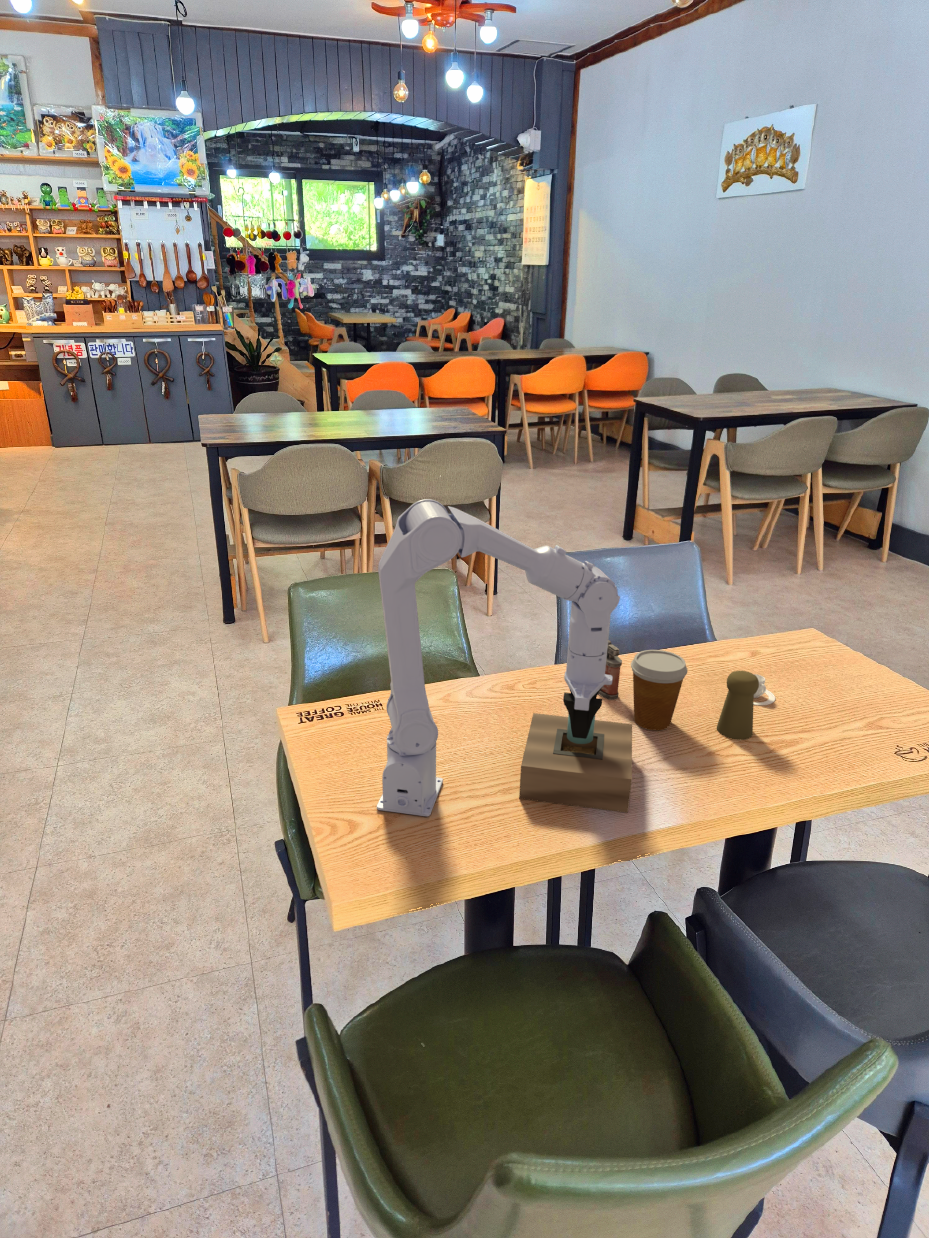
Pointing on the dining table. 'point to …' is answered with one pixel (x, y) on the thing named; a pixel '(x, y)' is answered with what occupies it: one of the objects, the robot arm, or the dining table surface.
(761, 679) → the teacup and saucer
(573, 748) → the beige square pad
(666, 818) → the dining table surface
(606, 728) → the block
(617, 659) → the lighter
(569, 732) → the peg
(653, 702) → the disposable coffee cup
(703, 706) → the dining table surface
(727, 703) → the olive green pawn
